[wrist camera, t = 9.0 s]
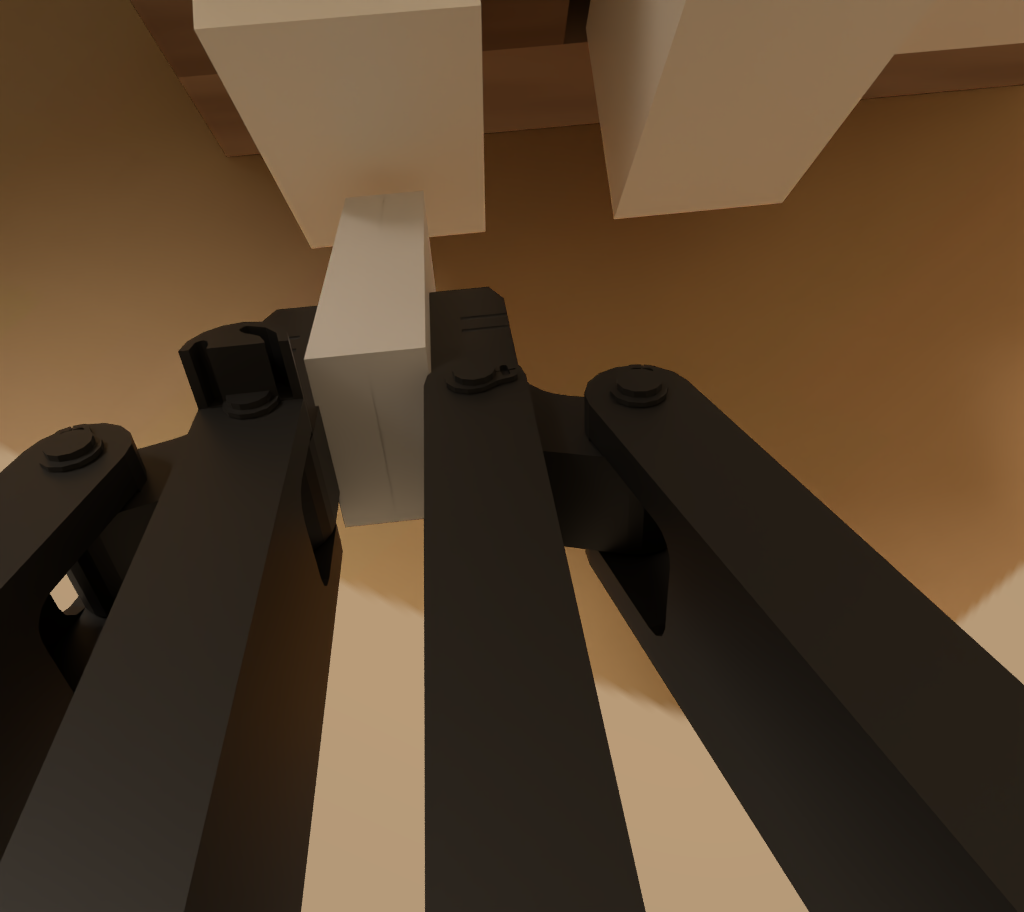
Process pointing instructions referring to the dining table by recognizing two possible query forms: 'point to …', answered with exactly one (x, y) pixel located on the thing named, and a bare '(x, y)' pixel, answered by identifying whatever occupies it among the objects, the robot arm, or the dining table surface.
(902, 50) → the right button
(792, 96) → the middle button
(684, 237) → the dining table surface
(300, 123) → the left button
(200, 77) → the console
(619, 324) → the dining table surface
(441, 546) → the robot arm
